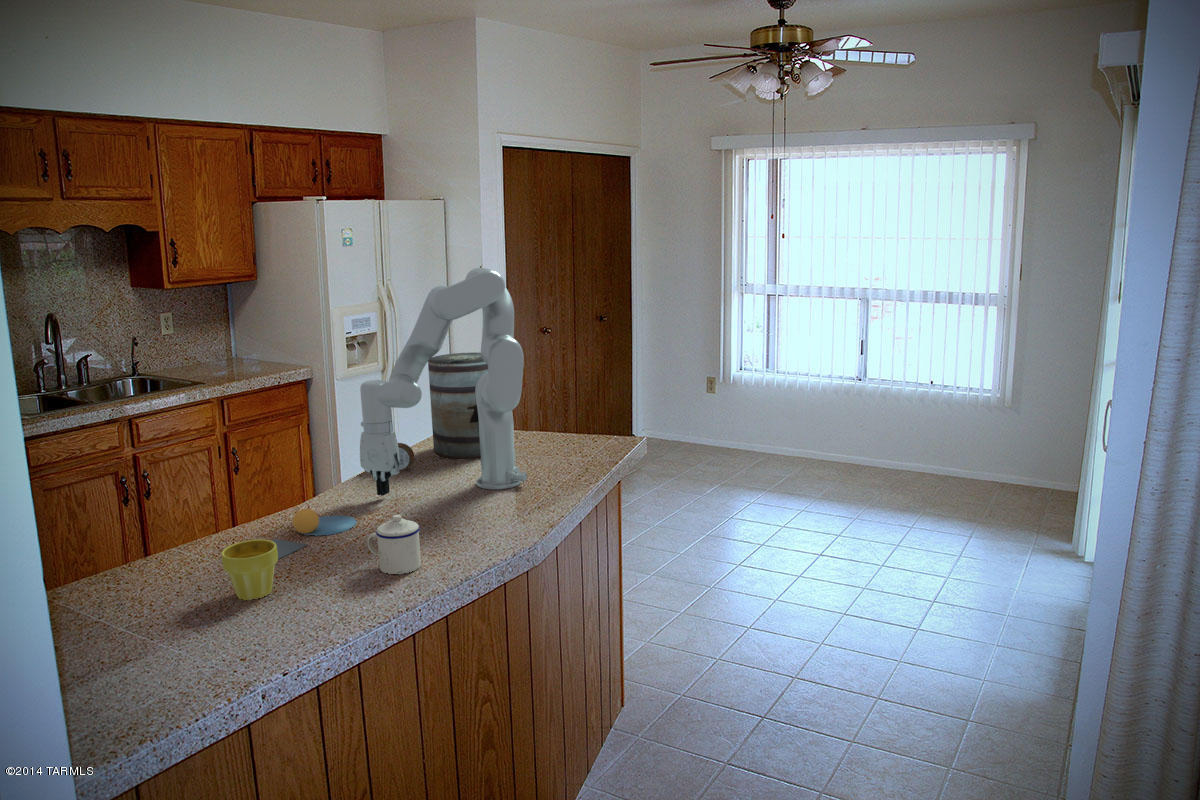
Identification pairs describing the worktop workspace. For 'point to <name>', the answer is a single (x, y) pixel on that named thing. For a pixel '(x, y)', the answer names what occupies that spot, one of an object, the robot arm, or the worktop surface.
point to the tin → (405, 456)
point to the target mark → (333, 525)
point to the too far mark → (287, 547)
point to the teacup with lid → (397, 546)
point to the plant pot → (251, 567)
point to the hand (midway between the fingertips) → (383, 493)
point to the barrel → (455, 404)
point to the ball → (305, 521)
